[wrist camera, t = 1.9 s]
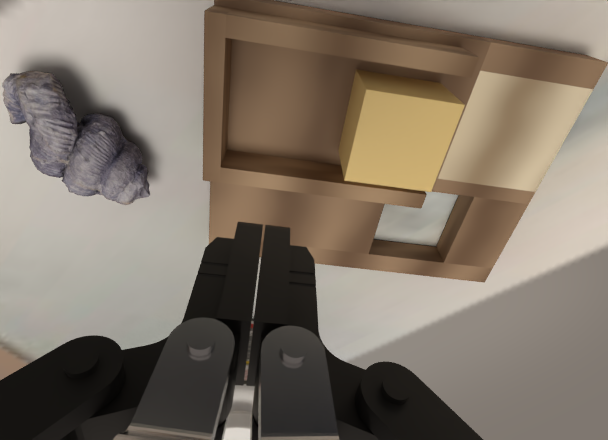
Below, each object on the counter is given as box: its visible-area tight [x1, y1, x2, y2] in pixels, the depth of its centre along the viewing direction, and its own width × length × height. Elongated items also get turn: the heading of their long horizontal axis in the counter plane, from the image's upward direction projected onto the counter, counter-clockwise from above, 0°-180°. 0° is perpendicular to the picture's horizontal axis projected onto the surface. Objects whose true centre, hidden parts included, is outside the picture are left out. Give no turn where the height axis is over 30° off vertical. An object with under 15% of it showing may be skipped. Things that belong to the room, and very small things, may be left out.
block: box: [338, 69, 465, 192], centre depth 22 cm, size 5×5×4 cm
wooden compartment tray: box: [209, 0, 608, 282], centre depth 26 cm, size 22×17×2 cm
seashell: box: [3, 71, 150, 205], centre depth 24 cm, size 5×5×10 cm
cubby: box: [203, 5, 479, 208], centre depth 22 cm, size 14×9×2 cm, turn 81°
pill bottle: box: [223, 321, 255, 440], centre depth 34 cm, size 6×6×10 cm
